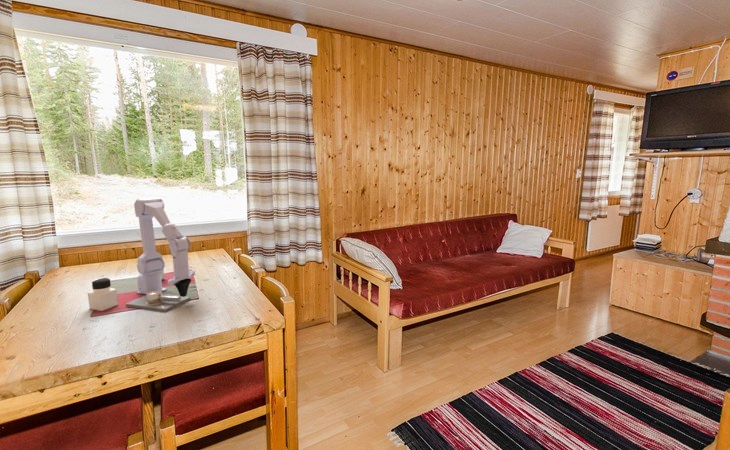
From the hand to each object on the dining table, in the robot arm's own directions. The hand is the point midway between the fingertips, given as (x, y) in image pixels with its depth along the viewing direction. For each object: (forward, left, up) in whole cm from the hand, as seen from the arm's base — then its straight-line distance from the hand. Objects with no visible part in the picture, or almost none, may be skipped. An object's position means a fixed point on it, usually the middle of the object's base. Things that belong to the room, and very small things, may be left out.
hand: (183, 296), depth 154 cm
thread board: (-9, -4, -3) cm, 10 cm away
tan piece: (-5, -5, -1) cm, 7 cm away
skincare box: (-34, +20, -3) cm, 40 cm away
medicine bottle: (-27, -14, -3) cm, 31 cm away
